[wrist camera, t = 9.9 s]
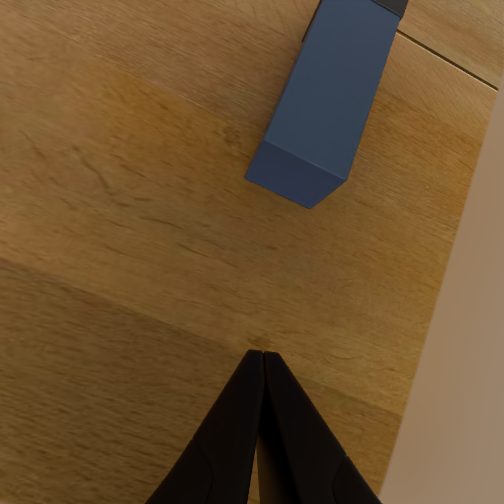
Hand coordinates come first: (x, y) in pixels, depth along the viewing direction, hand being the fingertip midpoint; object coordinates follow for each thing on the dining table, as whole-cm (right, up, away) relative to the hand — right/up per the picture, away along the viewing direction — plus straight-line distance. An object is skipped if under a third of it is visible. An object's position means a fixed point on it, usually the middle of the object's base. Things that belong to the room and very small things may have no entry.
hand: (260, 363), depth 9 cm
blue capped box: (+2, +7, +11) cm, 13 cm away
